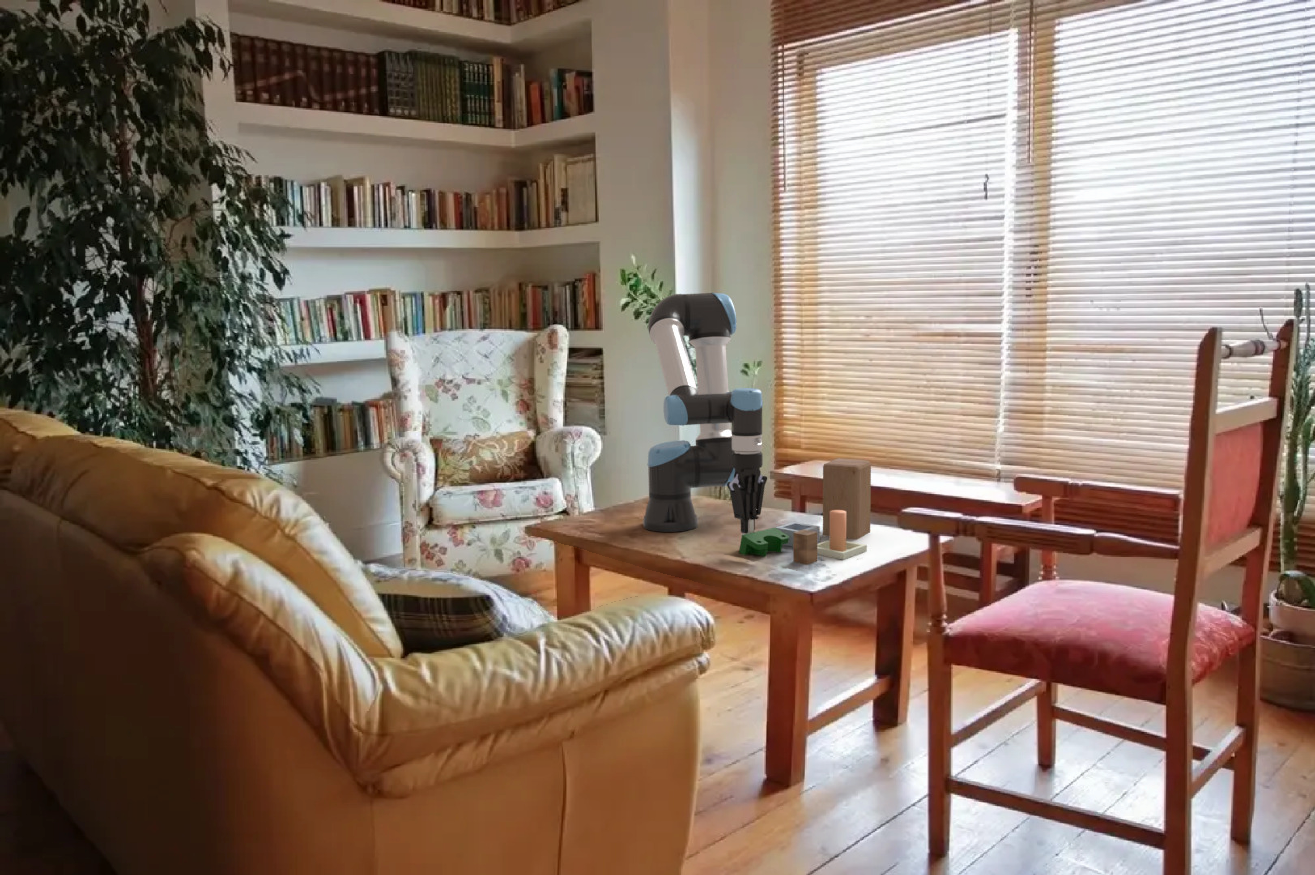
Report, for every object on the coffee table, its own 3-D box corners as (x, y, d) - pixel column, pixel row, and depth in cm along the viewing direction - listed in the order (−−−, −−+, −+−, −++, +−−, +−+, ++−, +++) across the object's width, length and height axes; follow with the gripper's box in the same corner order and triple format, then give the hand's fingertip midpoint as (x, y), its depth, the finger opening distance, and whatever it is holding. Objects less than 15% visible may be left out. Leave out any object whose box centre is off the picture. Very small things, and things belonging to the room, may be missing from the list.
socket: (775, 546, 263) (775, 527, 262) (794, 540, 268) (794, 521, 267) (800, 552, 257) (800, 532, 256) (819, 545, 263) (819, 526, 262)
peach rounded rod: (826, 552, 253) (826, 512, 251) (835, 548, 256) (835, 509, 254) (840, 554, 250) (840, 514, 248) (849, 551, 253) (849, 511, 251)
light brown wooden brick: (793, 565, 245) (793, 532, 244) (803, 562, 248) (803, 529, 247) (807, 568, 242) (807, 535, 241) (817, 565, 245) (817, 532, 244)
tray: (809, 556, 253) (809, 546, 252) (832, 548, 260) (832, 538, 260) (843, 563, 246) (843, 553, 246) (866, 554, 253) (866, 545, 253)
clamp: (758, 577, 251) (753, 549, 246) (742, 566, 256) (736, 538, 251) (793, 551, 256) (789, 523, 251) (776, 541, 261) (772, 513, 256)
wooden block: (857, 543, 264) (858, 466, 261) (821, 538, 270) (821, 463, 266) (871, 534, 273) (872, 460, 270) (836, 530, 278) (836, 457, 275)
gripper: (741, 456, 246) (742, 552, 250) (775, 449, 255) (776, 542, 259) (718, 453, 251) (719, 547, 255) (752, 446, 260) (753, 537, 264)
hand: (747, 544), depth 257 cm, fingers closed
